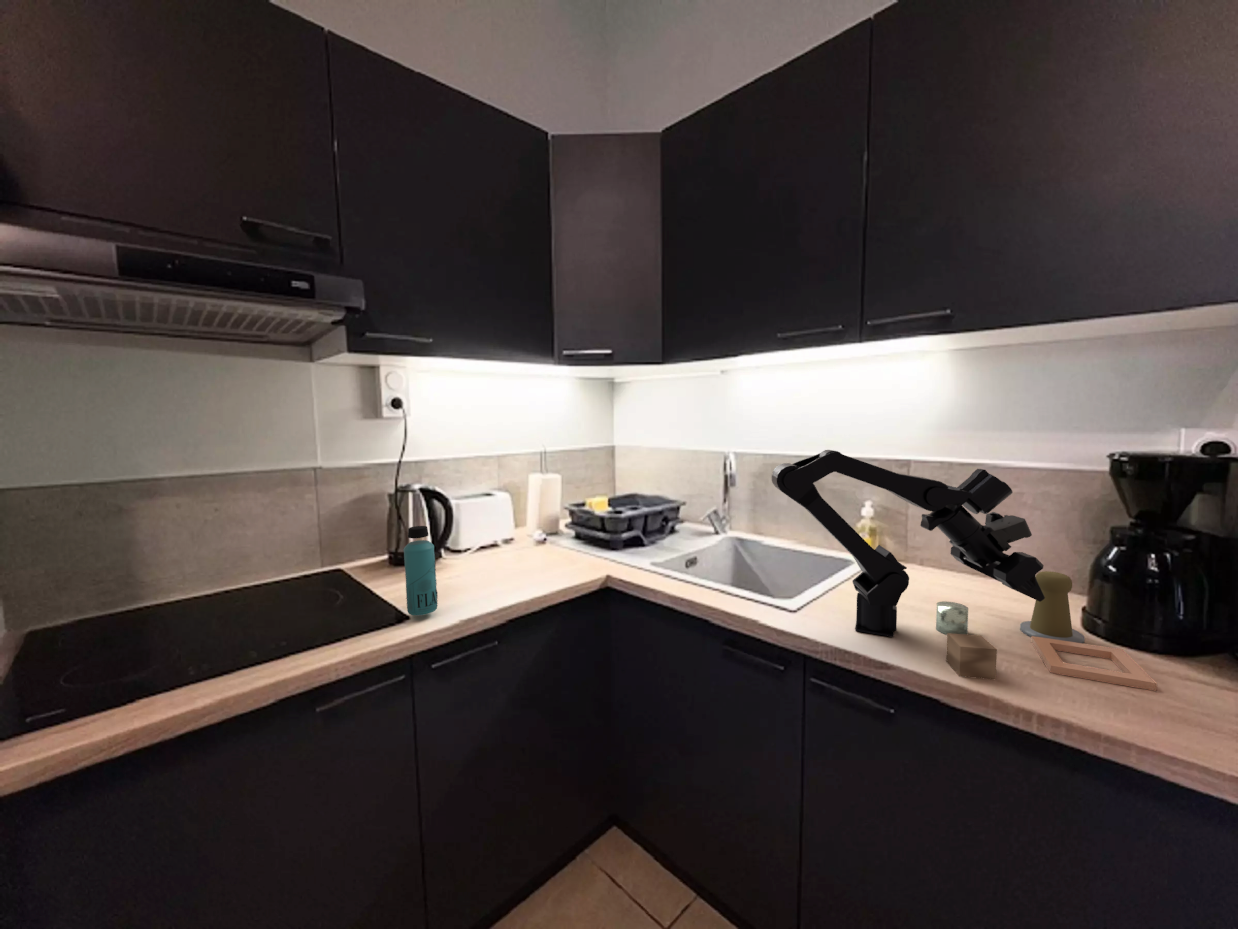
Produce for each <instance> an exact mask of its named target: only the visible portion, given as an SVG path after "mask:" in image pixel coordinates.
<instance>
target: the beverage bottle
mask: <svg viewBox="0 0 1238 929" xmlns="http://www.w3.org/2000/svg"><path fill="white" fill-rule="evenodd" d="M426 537H429V529H428V526H426V525H416V526H411V527H409V528H408V529H407V538H408V539H421V540H414V541H410V542H408V543H407V544H406V545H405V546H404V548H403V558H404V559H403V561H404V575H405V593H406V594H405V595H406V596H405V597H406V598H405V599H406V609H407V610H406V611H407V613H408V614H409V615H411V616H423V615H429V614H431V613H433V612H435V611H436V610H438V599H439V598H438V597H439V596H438V588H437V585H438V582H437V581H438V580H437V574H436V572H437V567H436V566H437V563H436V555H435V545H434V544H433V543H432V542H431V541H430V540H426V539H423V540H422V538H426Z"/></svg>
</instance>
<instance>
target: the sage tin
mask: <svg viewBox="0 0 1238 929" xmlns="http://www.w3.org/2000/svg"><path fill="white" fill-rule="evenodd" d="M935 615H936V616H935V618H936V619H935V630H936V631H937V632H939V633H940V634H943V635H945V636H947V633H952V634H967V635H968V634H969V632H968V630H969V607H968V606H967V605H964V604H963V603H962V604H961V603H959V602H955V601H946V600H945V601H938V602H937V603H936V614H935Z"/></svg>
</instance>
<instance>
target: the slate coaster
mask: <svg viewBox="0 0 1238 929" xmlns="http://www.w3.org/2000/svg"><path fill="white" fill-rule="evenodd" d="M1030 624H1031V620H1026V621H1022V622H1021V623H1020V624H1019V630H1020V632H1022V634H1024V635H1026V636H1027V637H1029V638H1031V636H1035V637H1042V638H1049V639H1055V640H1062V641H1069V642H1076V643H1083V644H1085V638H1086V637H1085V636H1084V634H1083V633H1081V632H1080V631H1078V630H1076V629H1074V628H1072V633H1073V636H1072V637H1068V638H1061V637H1053V636H1048V635H1044V634H1041V633H1038V632H1036V631H1034V630H1032V629H1031V628H1030Z"/></svg>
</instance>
